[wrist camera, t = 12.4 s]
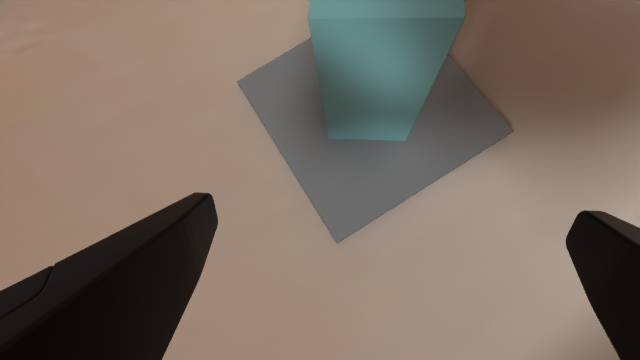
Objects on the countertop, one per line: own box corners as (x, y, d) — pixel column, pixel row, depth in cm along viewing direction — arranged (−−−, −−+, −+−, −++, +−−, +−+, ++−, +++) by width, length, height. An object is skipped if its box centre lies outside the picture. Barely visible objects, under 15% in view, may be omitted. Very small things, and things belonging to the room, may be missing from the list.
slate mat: (508, 134, 19) (513, 130, 18) (336, 243, 18) (336, 243, 18) (391, -4, 22) (392, -11, 21) (239, 86, 21) (236, 81, 21)
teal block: (405, 140, 19) (464, 17, 9) (328, 138, 19) (308, 18, 10) (405, 71, 20) (459, -105, 10) (332, 71, 20) (317, -99, 11)
